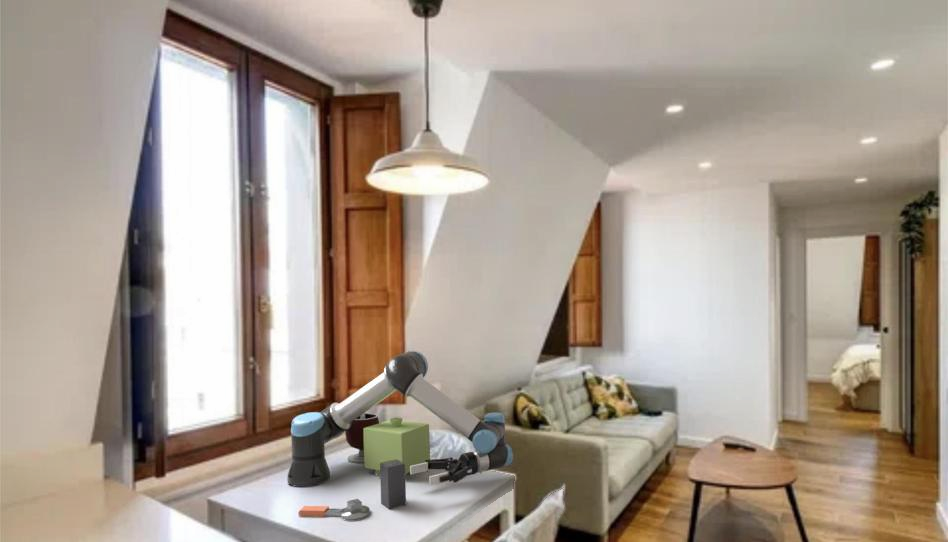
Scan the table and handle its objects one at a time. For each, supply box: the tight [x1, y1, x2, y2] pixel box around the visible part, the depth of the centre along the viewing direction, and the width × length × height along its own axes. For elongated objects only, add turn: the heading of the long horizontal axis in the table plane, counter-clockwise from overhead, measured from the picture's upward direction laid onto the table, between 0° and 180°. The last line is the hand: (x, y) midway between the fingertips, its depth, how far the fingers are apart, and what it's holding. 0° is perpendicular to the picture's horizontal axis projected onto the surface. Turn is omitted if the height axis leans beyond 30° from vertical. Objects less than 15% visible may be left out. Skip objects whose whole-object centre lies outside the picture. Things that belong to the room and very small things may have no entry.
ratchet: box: [297, 498, 371, 521], centre depth 169 cm, size 22×9×4 cm, turn 83°
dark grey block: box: [379, 459, 407, 510], centre depth 176 cm, size 6×6×13 cm
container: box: [363, 417, 431, 475], centre depth 208 cm, size 19×16×20 cm
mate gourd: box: [344, 412, 380, 464], centre depth 227 cm, size 16×14×20 cm
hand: (419, 475), depth 181 cm, fingers open, 13 cm apart
